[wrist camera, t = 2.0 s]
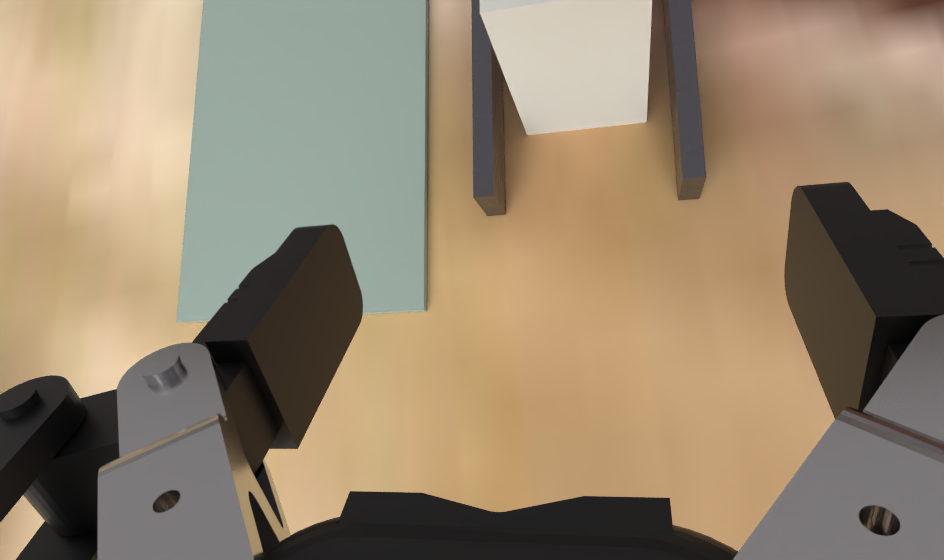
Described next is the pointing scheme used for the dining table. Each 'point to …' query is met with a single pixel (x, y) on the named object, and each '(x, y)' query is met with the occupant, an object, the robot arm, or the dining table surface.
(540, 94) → the block
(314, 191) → the mat
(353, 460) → the dining table surface
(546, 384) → the dining table surface
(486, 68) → the brackets
